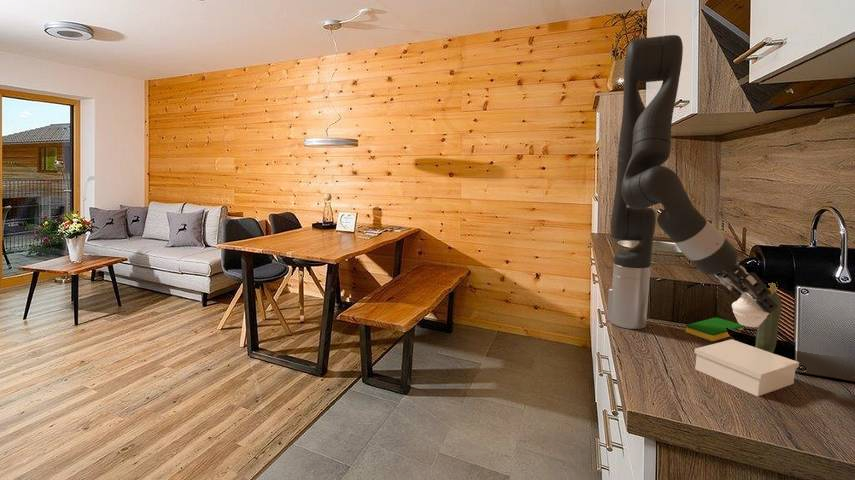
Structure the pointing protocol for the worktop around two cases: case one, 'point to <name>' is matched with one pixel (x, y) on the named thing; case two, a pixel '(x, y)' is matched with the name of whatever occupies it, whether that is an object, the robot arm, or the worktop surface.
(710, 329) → the dish sponge
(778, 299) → the vegetable
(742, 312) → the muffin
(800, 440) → the worktop surface
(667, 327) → the worktop surface
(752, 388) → the cardboard box
